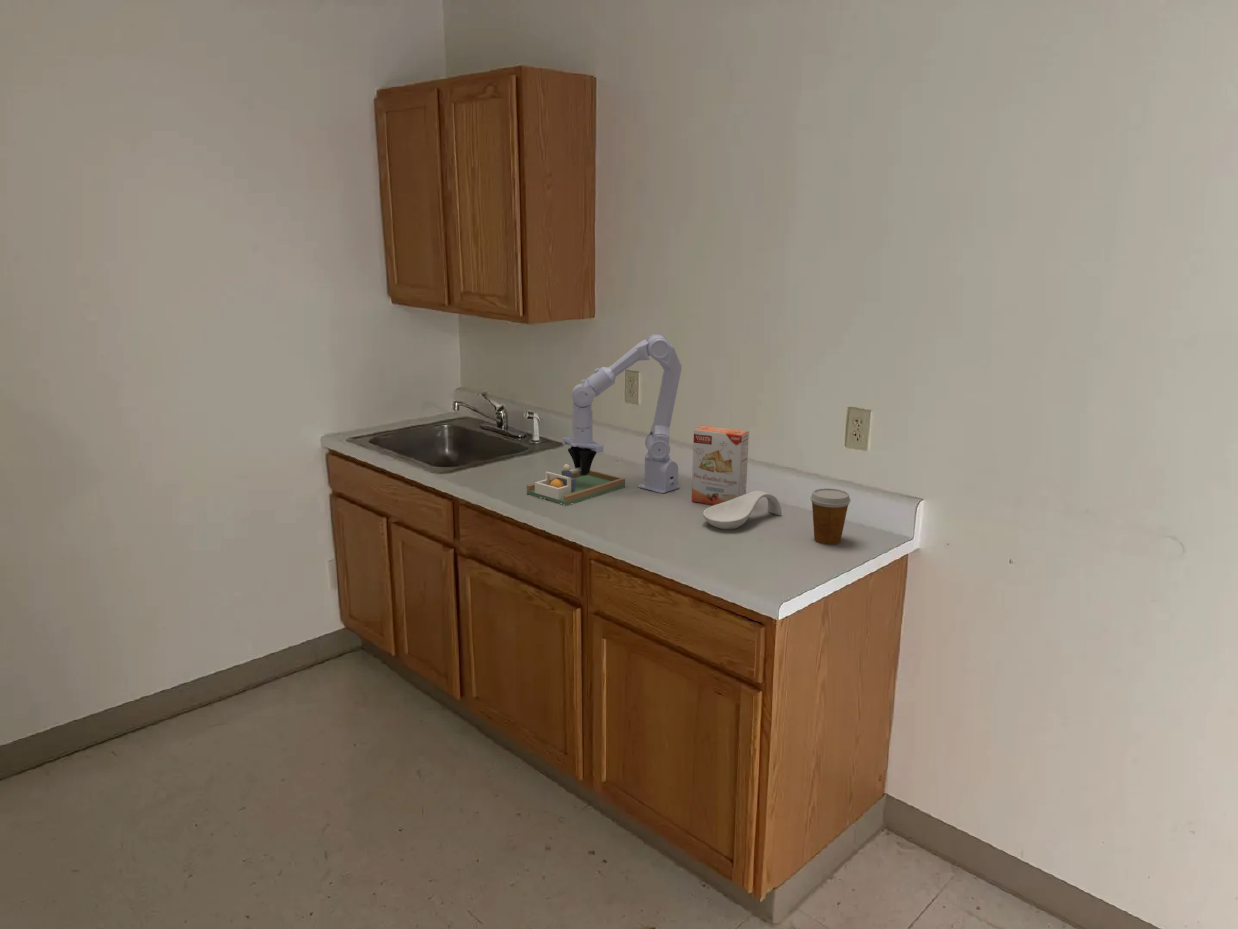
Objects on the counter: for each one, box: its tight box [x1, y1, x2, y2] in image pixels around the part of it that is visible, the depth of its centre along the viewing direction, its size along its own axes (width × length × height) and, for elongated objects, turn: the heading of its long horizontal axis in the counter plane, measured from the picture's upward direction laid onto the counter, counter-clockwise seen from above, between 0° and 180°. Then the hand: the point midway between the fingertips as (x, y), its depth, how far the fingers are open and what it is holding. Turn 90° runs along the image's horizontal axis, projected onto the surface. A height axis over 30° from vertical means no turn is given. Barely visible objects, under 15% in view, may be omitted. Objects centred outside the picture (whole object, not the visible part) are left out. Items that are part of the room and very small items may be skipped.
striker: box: [558, 459, 588, 491], centre depth 256 cm, size 5×9×7 cm, turn 138°
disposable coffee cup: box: [809, 487, 852, 546], centre depth 217 cm, size 10×10×12 cm
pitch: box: [526, 469, 626, 506], centre depth 257 cm, size 16×24×6 cm, turn 138°
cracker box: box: [691, 425, 750, 506], centre depth 244 cm, size 14×6×21 cm, turn 62°
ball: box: [550, 479, 564, 488], centre depth 251 cm, size 4×4×4 cm
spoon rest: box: [702, 490, 782, 530], centre depth 231 cm, size 24×12×7 cm, turn 126°
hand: (582, 472), depth 258 cm, fingers closed on striker, 2 cm apart
